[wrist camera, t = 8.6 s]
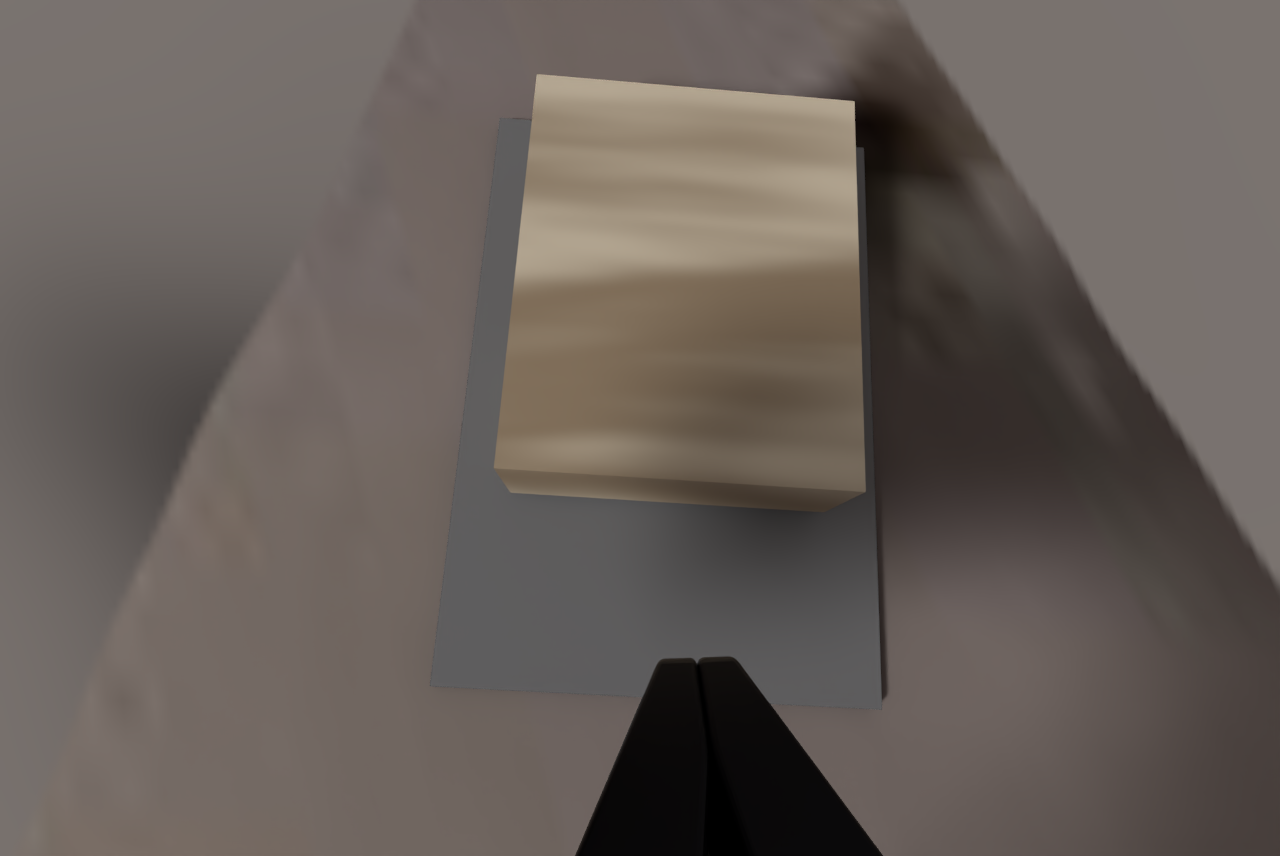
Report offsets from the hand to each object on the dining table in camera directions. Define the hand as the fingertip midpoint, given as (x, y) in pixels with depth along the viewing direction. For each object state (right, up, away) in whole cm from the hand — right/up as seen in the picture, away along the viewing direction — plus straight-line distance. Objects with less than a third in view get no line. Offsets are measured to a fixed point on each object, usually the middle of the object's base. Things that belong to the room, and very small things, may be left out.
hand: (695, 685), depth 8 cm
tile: (0, +1, +9) cm, 9 cm away
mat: (0, +4, +12) cm, 13 cm away
